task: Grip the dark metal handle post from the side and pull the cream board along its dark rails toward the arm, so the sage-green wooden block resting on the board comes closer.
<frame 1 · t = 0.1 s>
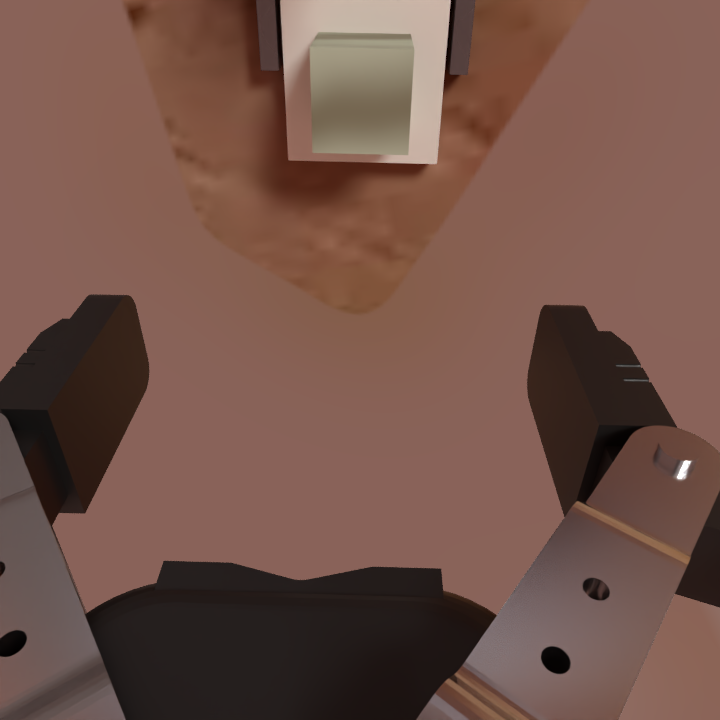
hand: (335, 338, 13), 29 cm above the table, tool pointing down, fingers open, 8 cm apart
block: (363, 82, 35), point 2 cm above the table, touching base with upright peg
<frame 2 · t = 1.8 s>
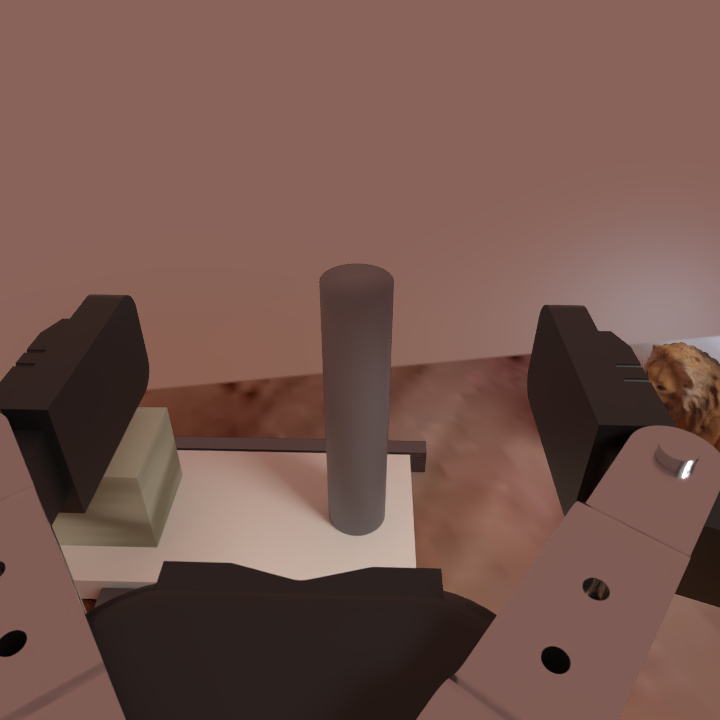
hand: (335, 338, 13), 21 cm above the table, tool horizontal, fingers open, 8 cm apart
guide rails: (284, 532, 35), on the table
block: (124, 508, 34), point 2 cm above the table, touching base with upright peg
lion figurine: (715, 523, 35), on the table
base with upright peg: (210, 422, 30), point 8 cm above the table, slide at 0.0 cm, touching block
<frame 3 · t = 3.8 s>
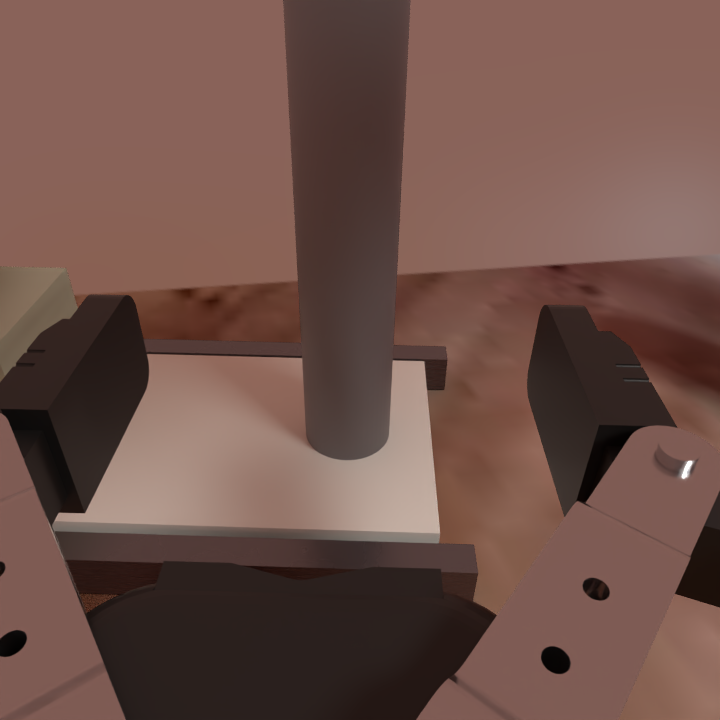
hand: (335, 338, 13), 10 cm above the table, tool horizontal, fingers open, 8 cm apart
guide rails: (241, 461, 24), on the table
block: (5, 421, 23), point 2 cm above the table, touching base with upright peg
base with upright peg: (118, 270, 19), point 8 cm above the table, slide at 0.0 cm, touching block
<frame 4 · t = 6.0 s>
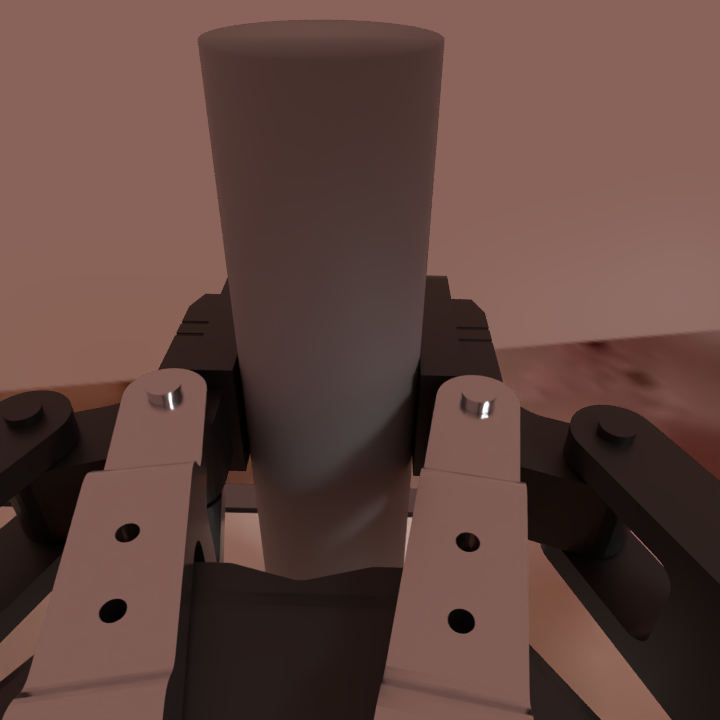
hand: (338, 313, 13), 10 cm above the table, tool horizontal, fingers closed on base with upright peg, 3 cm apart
guide rails: (188, 684, 17), on the table
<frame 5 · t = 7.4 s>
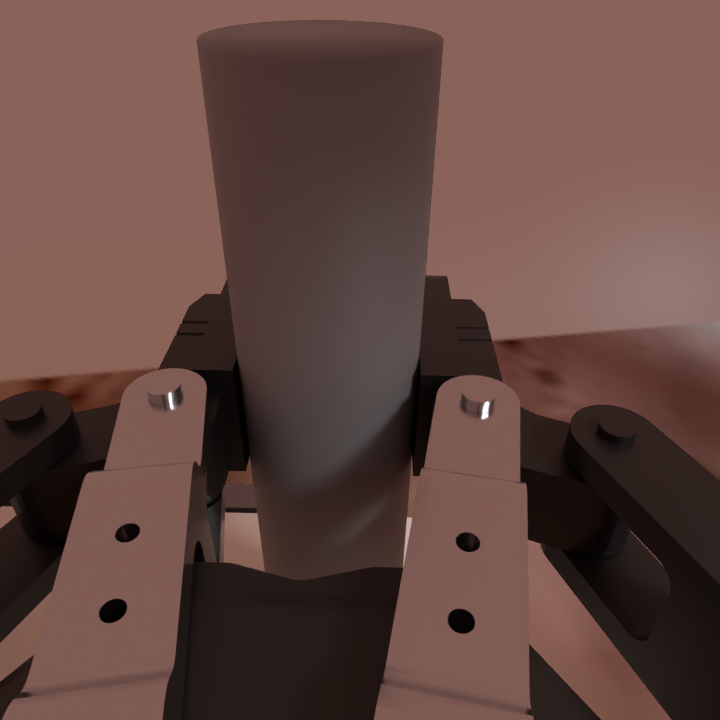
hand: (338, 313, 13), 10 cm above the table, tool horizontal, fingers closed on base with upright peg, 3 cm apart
guide rails: (34, 679, 17), on the table
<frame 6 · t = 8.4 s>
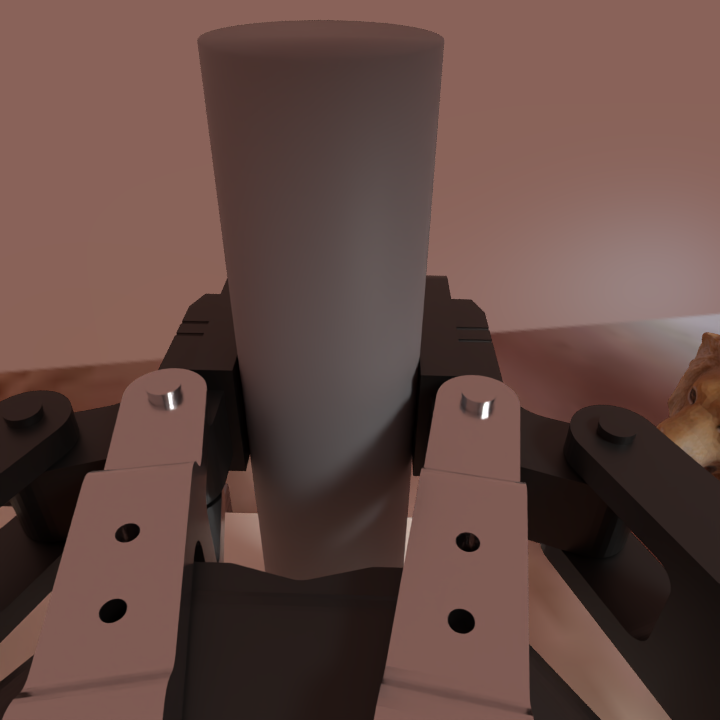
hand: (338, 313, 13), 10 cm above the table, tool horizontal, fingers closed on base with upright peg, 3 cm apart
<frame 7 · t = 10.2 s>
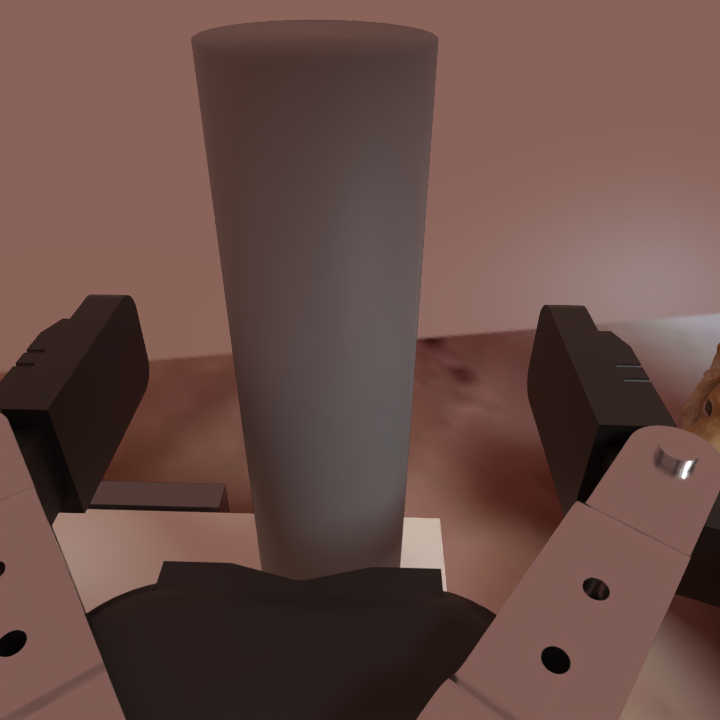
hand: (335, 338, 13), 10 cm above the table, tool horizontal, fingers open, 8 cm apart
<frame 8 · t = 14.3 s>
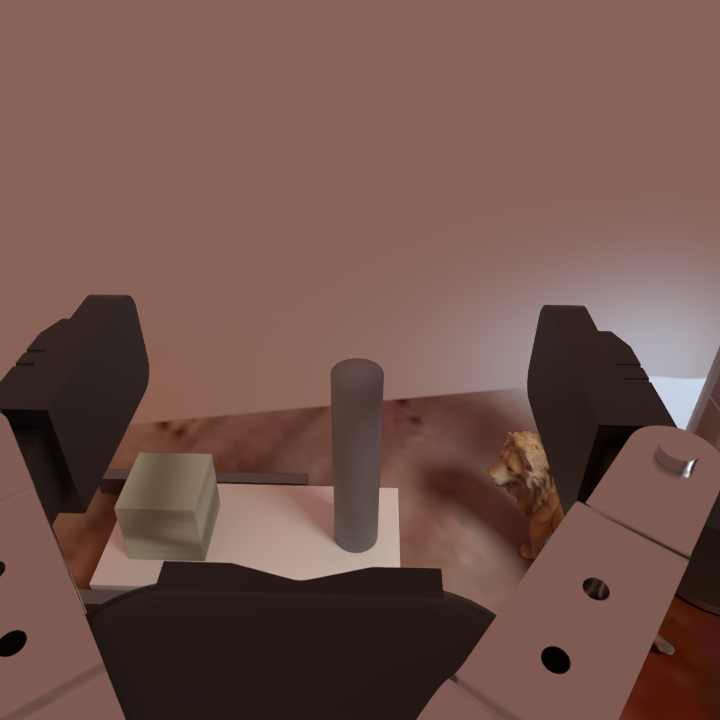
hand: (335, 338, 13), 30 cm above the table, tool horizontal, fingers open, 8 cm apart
guide rails: (189, 546, 45), on the table
block: (177, 530, 44), point 2 cm above the table, touching base with upright peg
lion figurine: (561, 576, 43), on the table
base with upright peg: (247, 468, 40), point 8 cm above the table, slide at 7.9 cm, touching block
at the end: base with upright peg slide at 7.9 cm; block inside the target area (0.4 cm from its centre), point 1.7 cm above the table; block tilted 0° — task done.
